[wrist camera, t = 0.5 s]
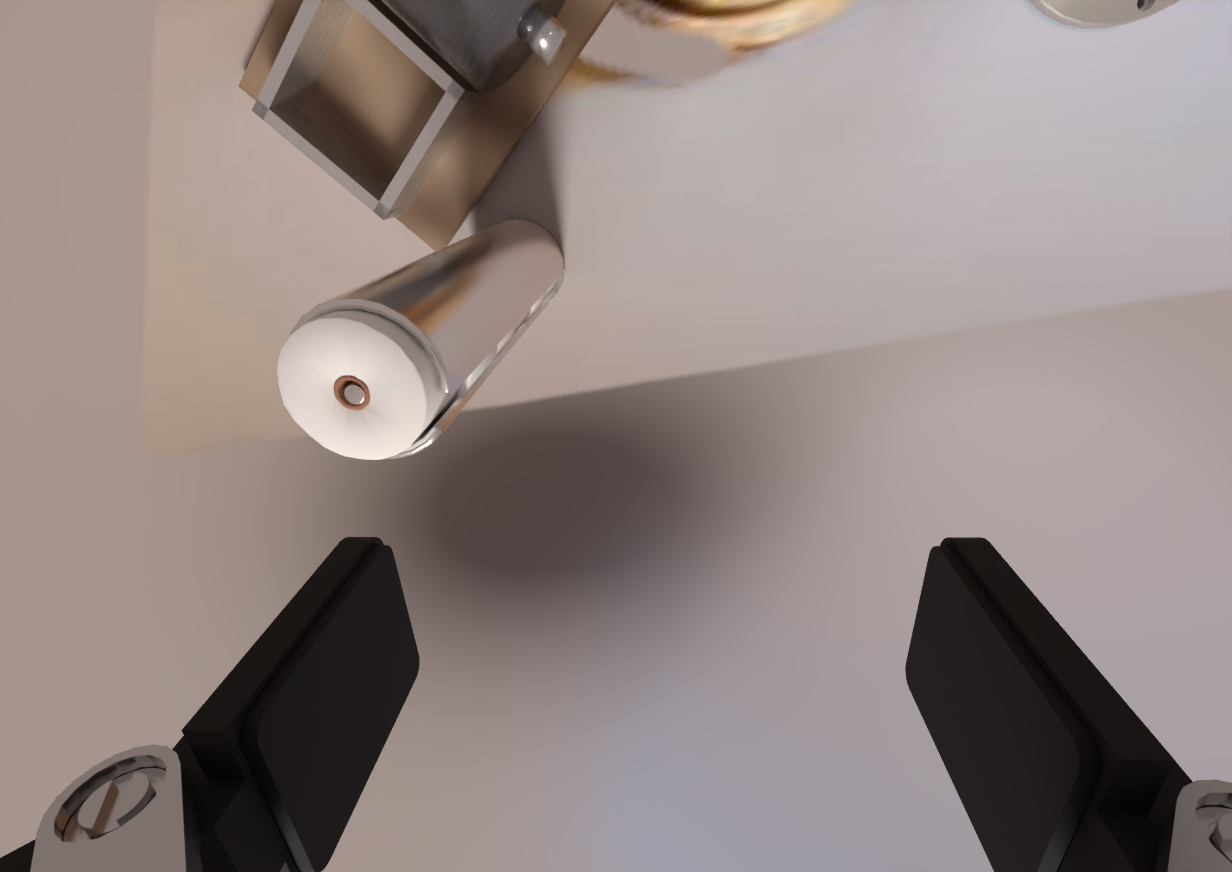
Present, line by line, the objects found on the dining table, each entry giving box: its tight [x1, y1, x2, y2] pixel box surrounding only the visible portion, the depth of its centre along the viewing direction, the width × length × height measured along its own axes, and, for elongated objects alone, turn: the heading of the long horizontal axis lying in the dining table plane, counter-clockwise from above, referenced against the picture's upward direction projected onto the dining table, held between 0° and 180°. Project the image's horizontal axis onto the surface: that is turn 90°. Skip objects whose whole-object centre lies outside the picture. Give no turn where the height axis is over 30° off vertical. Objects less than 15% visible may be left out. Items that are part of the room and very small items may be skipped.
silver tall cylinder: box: [277, 219, 564, 460], centre depth 32 cm, size 6×6×25 cm
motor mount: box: [239, 0, 617, 251], centre depth 32 cm, size 21×16×12 cm
